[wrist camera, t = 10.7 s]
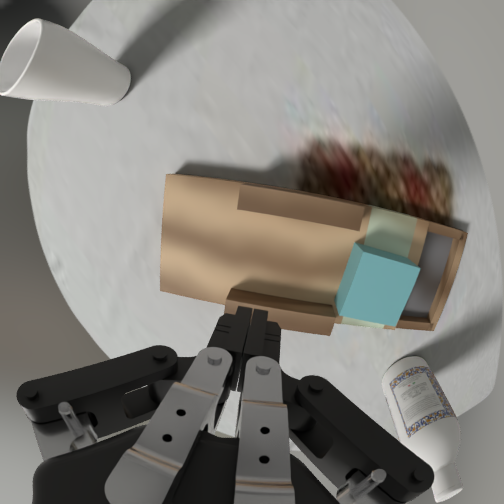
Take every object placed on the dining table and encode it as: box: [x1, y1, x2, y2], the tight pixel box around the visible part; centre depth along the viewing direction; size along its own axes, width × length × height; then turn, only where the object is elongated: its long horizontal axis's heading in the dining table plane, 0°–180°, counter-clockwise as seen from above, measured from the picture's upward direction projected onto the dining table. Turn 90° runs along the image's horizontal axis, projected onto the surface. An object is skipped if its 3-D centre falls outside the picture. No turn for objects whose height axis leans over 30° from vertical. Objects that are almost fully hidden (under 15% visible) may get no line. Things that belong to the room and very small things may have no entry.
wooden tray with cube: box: [160, 174, 468, 336], centre depth 24 cm, size 12×32×4 cm, turn 82°
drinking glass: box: [0, 18, 131, 106], centre depth 16 cm, size 7×7×15 cm
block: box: [334, 242, 421, 327], centre depth 23 cm, size 6×6×3 cm
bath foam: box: [382, 356, 463, 502], centre depth 20 cm, size 7×7×20 cm
